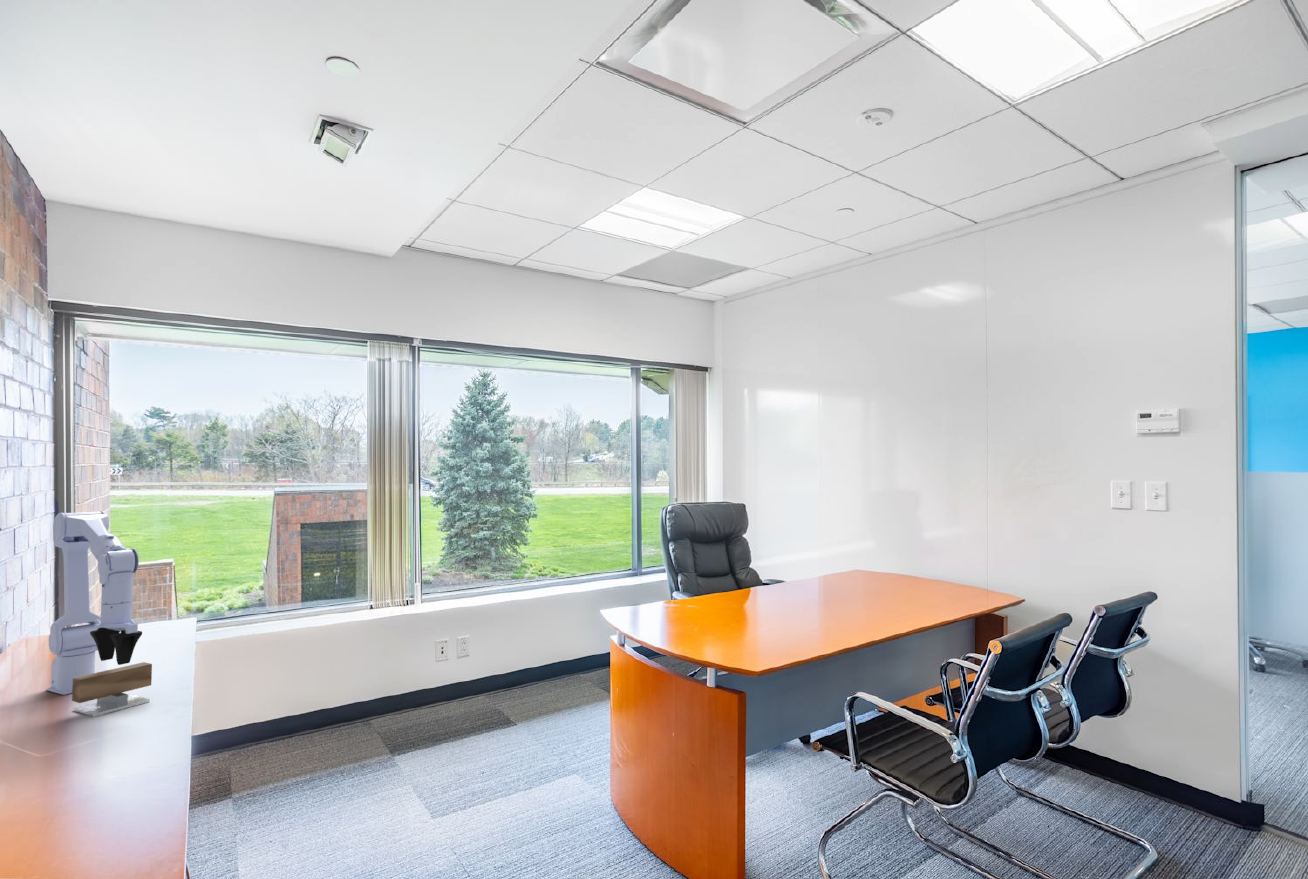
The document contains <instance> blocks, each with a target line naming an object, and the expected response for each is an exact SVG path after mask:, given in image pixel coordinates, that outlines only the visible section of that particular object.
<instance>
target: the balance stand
mask: <svg viewBox="0 0 1308 879" xmlns="http://www.w3.org/2000/svg"><path fill="white" fill-rule="evenodd" d="M150 701H151V699H149V698H148V697H143V696H138V695H136V694H131V693H125V692H122V693H118V694H114V695H110V696H106V697H102V698H98V699H96V701H95V702H92V703H88V704H84V705H79V706H77V707H73V709H72V711H73V712H76V713H80V714H83V715H86V716H88V717H93V718H94V717H98V716H101V715H105V714H109V713H112V712H116V711H120V710H124V709H128V708H131V707H135V706H139V705H143V704H145V703H150Z"/></svg>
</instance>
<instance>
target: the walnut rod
mask: <svg viewBox="0 0 1308 879" xmlns="http://www.w3.org/2000/svg"><path fill="white" fill-rule="evenodd" d="M152 668H153V664H152V663H150V662H144V661H142V662H139V663H134V664H129V665H125V666H120V667H115V668H111V669H108V670H107V669H106V670H103V671H97V672H95V673H93V674H88V675H84V676H79V677H75V678H73V684H72V693H71V702H74V703H78V704H82V703H87V702H89V701H94V700H97V699H98V698H102V697H106V696H110V695H114V694H118V693H125V692H129V691H133V690H138V689H141V688H147V687H149V686H150V687H151V686H152V676H153V673H152V671H153V669H152Z"/></svg>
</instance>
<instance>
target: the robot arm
mask: <svg viewBox="0 0 1308 879" xmlns="http://www.w3.org/2000/svg"><path fill="white" fill-rule="evenodd" d="M109 527H110V517H109V515H108V513H107V512H106V511H104V510H99V511H85V512H84V511H81V512H59V513H58V514H57V515H55V517H54V519H53V524H52V534H53V535H52V537H53V539H52V540H53V543H54V544H53V545H54V547H57V548H59V549H61V551H62V556H63V585H64V587H63V588H64V589H63V591H64V614H63V615H62V616H60V617H59V618H58V619H56V620H55V621H54V622H53V623H52V624H51V625H50V627H49V628H50V631H49V636H48V648H49V651H50V653H51V654H53V655H54V656H55V657H54V658H53V659H52V661H51V667H50V668H51V669H50V686H48V687H46V688H45V691H47V692H48V691H50V692H52V693H56V694H59V695H63V696H65V695H69V694H72V684H73V678H75V677H79V676H84V675H88V674H93V673H96V672H95V670H96V651H98V656H99V659H100V661H101V662H103V661H107V660H108V661H109V660H112V659H114V654H115V658H116V663H117V665H118V666H122V665H127V664H130V663H131V660H132V656H133V653H134V650H135V647H136V645H137V643H138V641H139V639H140V638H141V636H142V635H143V631H141V630H138V626H139V624H138V623H136V622H135V621H134V619H133V600H134V599H133V596H134V574H136V572H137V571H138V569H139V563H140V561H139V560H140V559H139V554H138V551H137V549H135V548H127V547H125V545H124V544H123V543H122V542H121V540H120V539H119V537H118V536H117V535H115V534H113V533H109V532H108V530H109ZM88 551H90V552H91V554H92V555H93V556H94V558H95V560H97V571H98V577H99V584H101V597H100V598H101V599H100V601H101V602H100V615H98V614H97V613H94V612H92V611H90V609H91V608H90V586H89V585H90V583H89V581H90V579H89V576H90V575H89V552H88ZM80 624H81V625H80ZM82 624H83V625H82ZM72 625H73V626H72ZM67 626H69V627H67Z"/></svg>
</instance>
